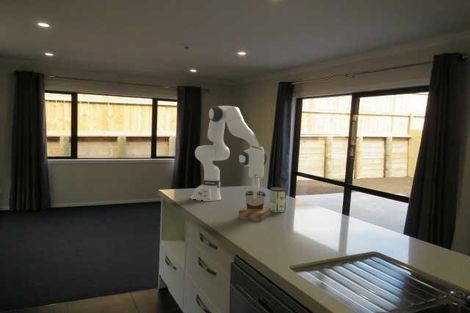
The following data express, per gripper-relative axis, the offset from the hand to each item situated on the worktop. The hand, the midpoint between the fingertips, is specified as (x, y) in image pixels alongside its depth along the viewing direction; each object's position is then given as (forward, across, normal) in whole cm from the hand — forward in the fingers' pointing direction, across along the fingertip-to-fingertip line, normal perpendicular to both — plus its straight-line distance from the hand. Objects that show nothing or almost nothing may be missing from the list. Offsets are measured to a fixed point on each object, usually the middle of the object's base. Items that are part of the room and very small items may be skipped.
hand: (255, 196), depth 202 cm
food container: (+7, +2, 0) cm, 7 cm away
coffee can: (+12, +19, -14) cm, 26 cm away
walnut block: (+12, 0, 0) cm, 12 cm away
